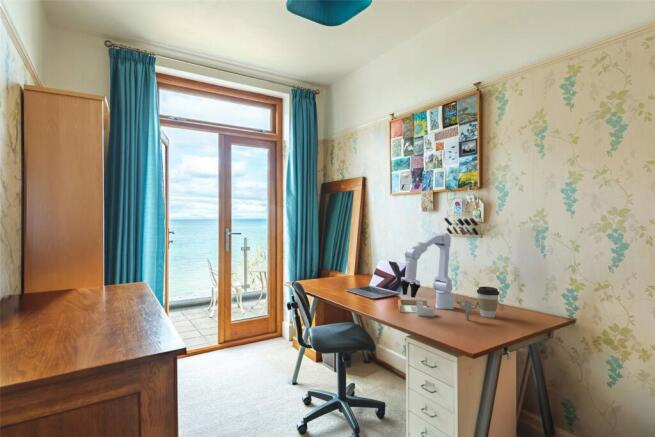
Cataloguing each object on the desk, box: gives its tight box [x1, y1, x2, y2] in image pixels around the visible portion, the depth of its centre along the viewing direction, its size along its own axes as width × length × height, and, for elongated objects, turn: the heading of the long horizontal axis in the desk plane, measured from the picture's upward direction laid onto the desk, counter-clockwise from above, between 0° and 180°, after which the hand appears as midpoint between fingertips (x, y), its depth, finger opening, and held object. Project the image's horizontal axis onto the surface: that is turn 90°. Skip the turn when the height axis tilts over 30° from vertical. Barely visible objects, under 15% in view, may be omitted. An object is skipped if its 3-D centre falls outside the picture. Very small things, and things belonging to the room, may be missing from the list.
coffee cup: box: [476, 286, 500, 319], centre depth 185 cm, size 11×11×15 cm
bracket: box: [415, 301, 436, 318], centre depth 186 cm, size 9×4×7 cm, turn 82°
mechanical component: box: [456, 299, 479, 322], centre depth 177 cm, size 3×10×10 cm, turn 79°
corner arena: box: [397, 298, 428, 314], centre depth 198 cm, size 17×16×4 cm
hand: (408, 296), depth 185 cm, fingers open, 7 cm apart
